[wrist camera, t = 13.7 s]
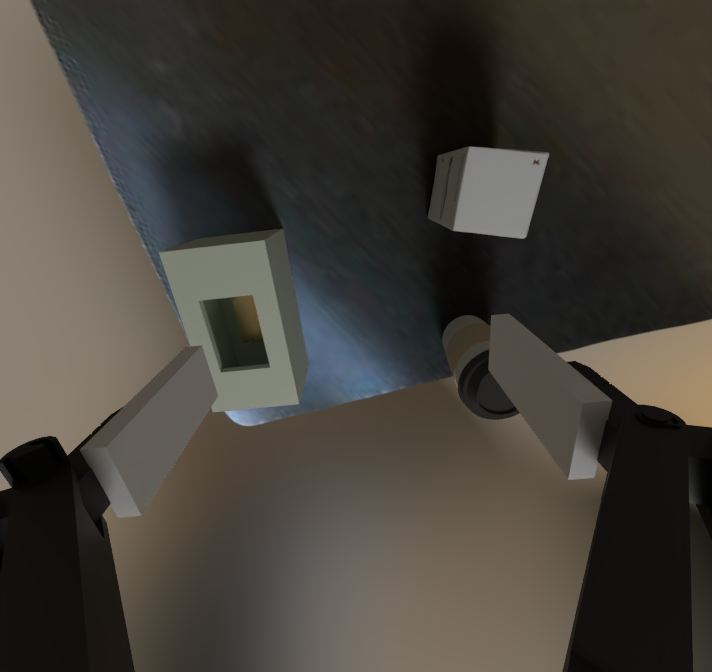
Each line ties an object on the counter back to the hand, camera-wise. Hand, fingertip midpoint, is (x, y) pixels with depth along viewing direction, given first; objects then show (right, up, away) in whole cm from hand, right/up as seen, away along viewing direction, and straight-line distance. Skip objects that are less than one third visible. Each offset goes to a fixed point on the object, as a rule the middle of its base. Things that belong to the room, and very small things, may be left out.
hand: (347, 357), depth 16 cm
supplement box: (+13, +19, +27) cm, 35 cm away
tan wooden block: (-13, +5, +32) cm, 35 cm away
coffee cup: (+16, +1, +35) cm, 38 cm away
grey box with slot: (-13, +5, +32) cm, 35 cm away
